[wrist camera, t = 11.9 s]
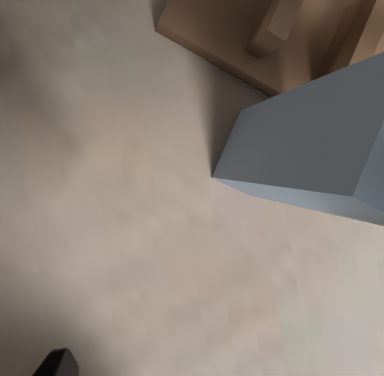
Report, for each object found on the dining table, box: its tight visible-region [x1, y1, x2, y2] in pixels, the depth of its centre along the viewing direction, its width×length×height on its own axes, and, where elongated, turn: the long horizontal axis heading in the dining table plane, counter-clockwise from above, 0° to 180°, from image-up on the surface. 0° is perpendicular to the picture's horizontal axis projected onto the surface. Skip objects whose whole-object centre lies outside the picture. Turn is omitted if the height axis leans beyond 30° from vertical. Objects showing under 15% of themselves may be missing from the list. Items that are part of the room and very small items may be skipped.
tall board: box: [212, 52, 384, 226], centre depth 13 cm, size 4×3×10 cm, turn 156°
